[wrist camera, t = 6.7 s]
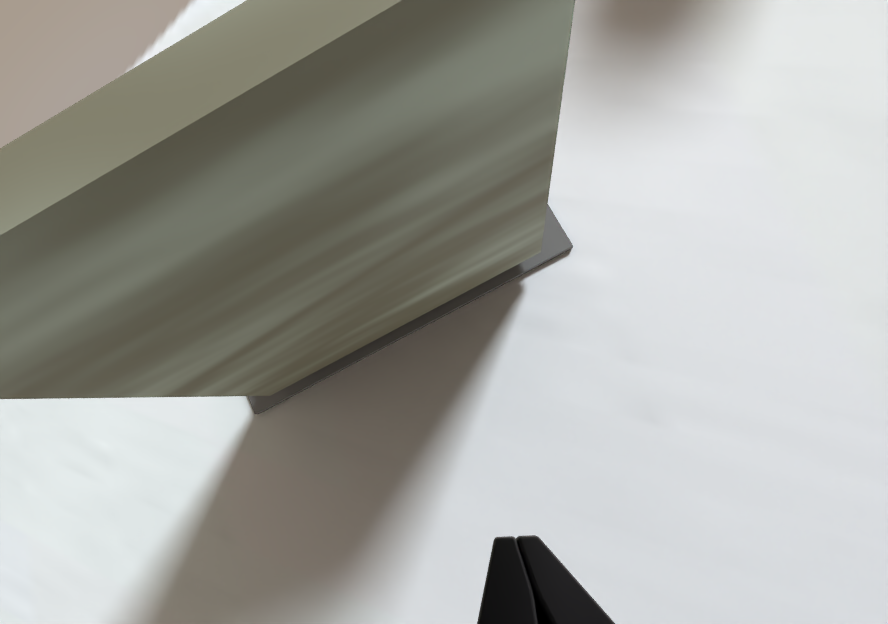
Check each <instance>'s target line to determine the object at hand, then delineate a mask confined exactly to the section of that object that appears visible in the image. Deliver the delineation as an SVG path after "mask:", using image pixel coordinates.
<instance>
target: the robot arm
mask: <svg viewBox="0 0 888 624" xmlns="http://www.w3.org/2000/svg"><path fill="white" fill-rule="evenodd" d="M477 624H615V623H614V622H613V621H612V620H611V618H610V617H609V616H608V615H607V614H606V613H605V612H604V611H603V609H602V608H601V607H600V606H599V605H598V604H597V603H596V601H595V600H594V599H593V598H592V597H591V596H590V595H589V594H588V592H587V591H586V590H585V589H584V588H583V587H582V586H581V585H580V583H579V582H578V581H577V580H576V579H575V578H574V577H573V575H572V574H571V573H570V572H569V571H568V570H567V569H566V568H565V566H564V565H563V564H562V563H561V562H560V561H559V560H558V558H557V557H556V556H555V555H554V554H553V553H552V552H551V551H550V549H549V548H548V547H547V546H546V545H545V544H544V543H543V541H542V540H541V539H540V538H539V537H537V536H535V535H532V536H518V537H517V538H516V539H515V537H513V536H509V537H496V538H495V539H494V542H493V547H492V552H491V557H490V562H489V567H488V572H487V577H486V582H485V587H484V592H483V597H482V602H481V607H480V612H479V617H478V622H477Z"/></svg>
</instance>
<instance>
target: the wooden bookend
mask: <svg viewBox="0 0 888 624" xmlns="http://www.w3.org/2000/svg"><path fill="white" fill-rule="evenodd" d="M574 4H575V0H247V1H245V2H243V3H242V4H240V5H238V6H237V7H235V8H233V9H232V10H230V11H228V12H227V13H225V14H223V15H222V16H220V17H218V18H217V19H215V20H213V21H212V22H210V23H208V24H207V25H205V26H203V27H202V28H200V29H198V30H197V31H195V32H193V33H192V34H190V35H188V36H187V37H185V38H184V39H182V40H180V41H179V42H177V43H175V44H174V45H172V46H170V47H169V48H167V49H165V50H164V51H162V52H160V53H159V54H157V55H155V56H154V57H152V58H150V59H149V60H147V61H145V62H144V63H142V64H140V65H139V66H137V67H135V68H134V69H132V70H130V71H129V72H127V73H125V74H124V75H122V76H120V77H119V78H117V79H115V80H114V81H112V82H110V83H109V84H107V85H105V86H104V87H102V88H100V89H99V90H97V91H95V92H94V93H92V94H90V95H89V96H87V97H86V98H84V99H82V100H80V101H79V102H77V103H75V104H74V105H72V106H71V107H69V108H67V109H65V110H64V111H62V112H60V113H59V114H57V115H55V116H54V117H52V118H51V119H49V120H47V121H46V122H44V123H42V124H40V125H39V126H37V127H35V128H34V129H32V130H30V131H29V132H27V133H25V134H24V135H22V136H21V137H19V138H17V139H15V140H14V141H12V142H10V143H9V144H7V145H6V146H4V147H2V148H0V399H42V398H124V397H207V396H271V395H273V394H274V393H276V392H278V391H280V390H282V389H284V388H286V387H288V386H290V385H291V384H293V383H295V382H297V381H299V380H301V379H303V378H305V377H307V376H308V375H310V374H312V373H314V372H316V371H318V370H320V369H322V368H323V367H325V366H327V365H329V364H331V363H333V362H335V361H337V360H339V359H340V358H342V357H344V356H346V355H348V354H350V353H352V352H354V351H356V350H357V349H359V348H361V347H363V346H365V345H367V344H369V343H371V342H372V341H374V340H376V339H378V338H380V337H382V336H384V335H386V334H388V333H389V332H391V331H393V330H395V329H397V328H399V327H401V326H403V325H405V324H406V323H408V322H410V321H412V320H414V319H416V318H418V317H420V316H421V315H423V314H425V313H427V312H429V311H431V310H433V309H435V308H437V307H438V306H440V305H442V304H444V303H446V302H448V301H450V300H452V299H454V298H455V297H457V296H459V295H461V294H463V293H465V292H467V291H469V290H470V289H472V288H474V287H476V286H478V285H480V284H482V283H484V282H486V281H487V280H489V279H491V278H493V277H495V276H497V275H499V274H501V273H502V272H504V271H506V270H508V269H510V268H512V267H514V266H516V265H518V264H519V263H521V262H523V261H525V260H527V259H529V258H531V257H533V256H535V255H536V254H538V253H540V252H541V247H542V239H543V232H544V225H545V217H546V210H547V203H548V195H549V188H550V180H551V173H552V166H553V158H554V151H555V144H556V136H557V129H558V122H559V114H560V107H561V100H562V92H563V85H564V78H565V70H566V63H567V56H568V48H569V41H570V34H571V26H572V19H573V12H574Z"/></svg>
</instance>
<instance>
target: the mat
mask: <svg viewBox="0 0 888 624" xmlns="http://www.w3.org/2000/svg"><path fill="white" fill-rule="evenodd" d="M572 248H573V245H572V243H571V242H570V240H569V238H568V237H567V235H566V233H565V232H564V230H563V229H562V227H561V225H560V224H559V222H558V220H557V219H556V217H555V215H554V214H553V212H552V210H551V209H550V207H549V205H548V204H547V210H546V217H545V225H544V232H543V239H542V247H541V252H540V253H538V254H536V255H535V256H533V257H531V258H529V259H527V260H525V261H523V262H521V263H519V264H518V265H516V266H514V267H512V268H510V269H508V270H506V271H504V272H502V273H501V274H499V275H497V276H495V277H493V278H491V279H489V280H487V281H486V282H484V283H482V284H480V285H478V286H476V287H474V288H472V289H470V290H469V291H467V292H465V293H463V294H461V295H459V296H457V297H455V298H454V299H452V300H450V301H448V302H446V303H444V304H442V305H440V306H438V307H437V308H435V309H433V310H431V311H429V312H427V313H425V314H423V315H421V316H420V317H418V318H416V319H414V320H412V321H410V322H408V323H406V324H405V325H403V326H401V327H399V328H397V329H395V330H393V331H391V332H389V333H388V334H386V335H384V336H382V337H380V338H378V339H376V340H374V341H372V342H371V343H369V344H367V345H365V346H363V347H361V348H359V349H357V350H356V351H354V352H352V353H350V354H348V355H346V356H344V357H342V358H340V359H339V360H337V361H335V362H333V363H331V364H329V365H327V366H325V367H323V368H322V369H320V370H318V371H316V372H314V373H312V374H310V375H308V376H307V377H305V378H303V379H301V380H299V381H297V382H295V383H293V384H291V385H290V386H288V387H286V388H284V389H282V390H280V391H278V392H276V393H274V394H273V395H271V396H248V397H249V400H250V402H251V405H252V407H253V410H254V413H255V414H259V413H261V412H263V411H265V410H267V409H269V408H271V407H273V406H275V405H276V404H278V403H280V402H282V401H284V400H286V399H288V398H290V397H292V396H293V395H295V394H297V393H299V392H301V391H303V390H305V389H307V388H309V387H310V386H312V385H314V384H316V383H318V382H320V381H322V380H324V379H326V378H327V377H329V376H331V375H333V374H335V373H337V372H339V371H341V370H343V369H345V368H346V367H348V366H350V365H352V364H354V363H356V362H358V361H360V360H362V359H363V358H365V357H367V356H369V355H371V354H373V353H375V352H377V351H379V350H380V349H382V348H384V347H386V346H388V345H390V344H392V343H394V342H396V341H397V340H399V339H401V338H403V337H405V336H407V335H409V334H411V333H413V332H414V331H416V330H418V329H420V328H422V327H424V326H426V325H428V324H430V323H432V322H433V321H435V320H437V319H439V318H441V317H443V316H445V315H447V314H449V313H450V312H452V311H454V310H456V309H458V308H460V307H462V306H464V305H466V304H467V303H469V302H471V301H473V300H475V299H477V298H479V297H481V296H483V295H484V294H486V293H488V292H490V291H492V290H494V289H496V288H498V287H500V286H502V285H503V284H505V283H507V282H509V281H511V280H513V279H515V278H517V277H519V276H520V275H522V274H524V273H526V272H528V271H530V270H532V269H534V268H536V267H537V266H539V265H541V264H543V263H545V262H547V261H549V260H551V259H553V258H554V257H556V256H558V255H560V254H562V253H564V252H566V251H568V250H570V249H572Z"/></svg>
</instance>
